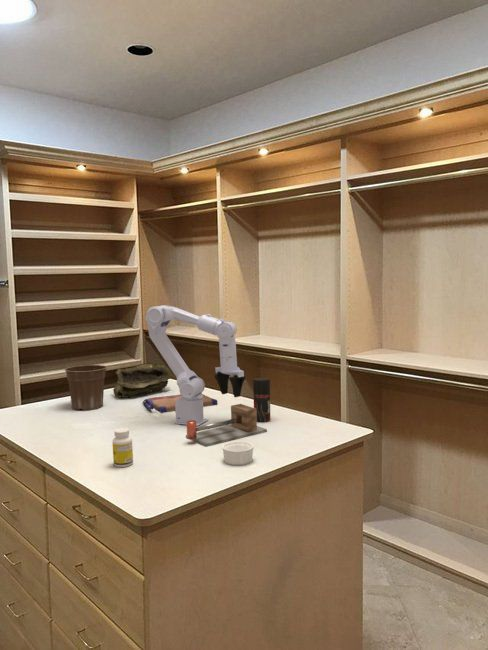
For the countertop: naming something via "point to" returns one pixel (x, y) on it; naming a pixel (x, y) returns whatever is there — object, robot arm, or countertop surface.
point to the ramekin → (238, 452)
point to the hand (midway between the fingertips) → (230, 395)
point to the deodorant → (262, 398)
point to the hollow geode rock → (141, 379)
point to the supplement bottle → (122, 448)
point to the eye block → (232, 427)
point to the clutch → (172, 402)
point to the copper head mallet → (203, 427)
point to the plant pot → (86, 386)
